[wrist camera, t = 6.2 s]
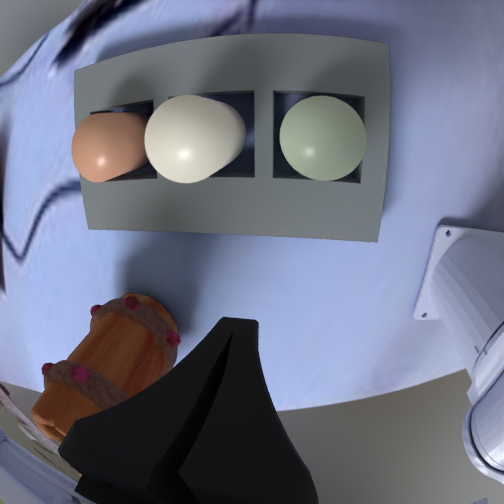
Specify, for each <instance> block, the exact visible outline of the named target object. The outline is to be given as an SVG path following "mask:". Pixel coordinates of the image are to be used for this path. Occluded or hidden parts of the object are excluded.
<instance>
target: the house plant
mask: <svg viewBox="0 0 504 504" xmlns="http://www.w3.org/2000/svg"><path fill="white" fill-rule="evenodd" d="M3 409H4V406H3V405H2V404H1V403H0V415H1V413H2V411H3Z"/></svg>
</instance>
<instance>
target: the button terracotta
mask: <svg viewBox="0 0 504 504" xmlns="http://www.w3.org/2000/svg"><path fill="white" fill-rule="evenodd" d="M149 119H150V117H148V116H147V115H145V114H143V113H139V112H119V113H98V114H93V115H90V116H88V117H86V118H85V119H84V120H83V121H82V122H81V123H80V124H79V125H78V127H77V129H76V131H75V133H74V136H73V140H72V157H73V161H74V164H75V166H76V168H77V170H78V172H79V173H80V174H81V175H82V176H83V177H84V178H86V179H87V180H89V181H92V182H104V181H107V180H109V179H112V178H114V177H117V176H119V175H122V174H124V173H127V172H130V171H132V170H135V169H138V168H141V167H143V166H145V165H146V164H148V163H149V162H150V160H149V158H148V156H147V153H146V149H145V131H146V127H147V124H148V121H149Z"/></svg>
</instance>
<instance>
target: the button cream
mask: <svg viewBox="0 0 504 504" xmlns="http://www.w3.org/2000/svg"><path fill="white" fill-rule="evenodd" d="M245 141H246V127H245V123H244V120H243V119H242V117H241V115H240V114H239V113H238V111H237V110H236V109H234V108H233V107H232V106H230V105H228V104H226V103H223V102H219V101H216V100H212V99H208V98H204V97H200V96H196V95H181V96H176V97H173V98H171V99H169V100H167V101H165V102H164V103H162V104H161V105H160V106H159V107H158V108H157V109H156V110H155V111H154V113H153V114H152V116H151V117H150V119H149V121H148V124H147V127H146V131H145V149H146V153H147V156H148V158H149V160H150V162H151V164H152V165H153V167H154V168H155V169H156V170H157V171H158V172H159V173H160V174H161V175H162V176H164V177H165V178H167V179H169V180H172V181H175V182H179V183H194V182H198V181H201V180H203V179H205V178H207V177H209V176H210V175H212V174H213V173H215V172H217V171H218V170H220V169H221V168H223V167H224V166H226V165H228V164H229V163H231V162H232V161H234V160H235V159H236V158H237V157H238V156H239V154H240V153H241V151H242V150H243V147H244V145H245Z"/></svg>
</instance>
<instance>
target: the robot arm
mask: <svg viewBox="0 0 504 504" xmlns="http://www.w3.org/2000/svg"><path fill="white" fill-rule="evenodd" d="M448 230H449V234H447V235H446V232H447V231H448ZM423 313H425V314H424V315H422V314H423ZM413 317H414V319H416V320H436V319H441V321H442V323H443V324H444V326H445V328H446V330H447V332H448V333H449V335H450V337H451V339H452V341H453V343H454V345H455V347H456V349H457V351H458V353H459V355H460V357H461V359H462V361H463V363H464V365H465V367H466V369H467V371H468V373H469V375H470V378H471V380H472V385H471V387H470V389H469V390H468V392H467V394H468V397H469V399H470V402H471V404H472V407H471V408H470V409H469V411H468V412H467V414H466V416H465V419H464V424H463V441H464V445H465V449H466V451H467V454H468V456H469V458H470V459H471V461H472V463H473V464H474V465H475V467H476V468H477V469H478V470H479V471H480V472H482V473H483V474H485V475H487V476H489V477H491V478H494V479H496V480H498V481H500V482H501V483H503V485H504V232H497V231H490V230H483V229H475V228H467V227H459V226H451V225H439V226H438V227H437V229H436V232H435V236H434V241H433V245H432V249H431V253H430V257H429V261H428V265H427V269H426V273H425V276H424V280H423V283H422V286H421V290H420V293H419V296H418V299H417V302H416V305H415V308H414V311H413ZM258 329H259V323H258V322H257V321H256V320H252V319H241V318H230V317H222V318H221V319H220V320H219V321H218V322H217V324H216V325H215V326H214V327H213V328H212V330H211V331H210V332H209V333H208V334H207V335H206V336H205V337H204V339H203V340H202V341H201V342H200V343H199V344H198V345H197V346H196V347H195V348H194V349H193V350H192V351H191V352H190V353H189V354H188V355H187V356H186V357H185V358H184V359H182V360H181V361H180V362H179V363H178V364H177V365H176V366H175V367H174V368H172V369H171V370H170V371H169V372H167V373H166V374H165V375H164V376H162V377H161V378H160V379H158V380H157V381H156V382H154V383H153V384H151V385H150V386H148V387H147V388H145V389H144V390H142V391H140V392H139V393H137V394H135V395H134V396H132V397H130V398H128V399H126V400H124V401H122V402H120V403H118V404H116V405H114V406H112V407H110V408H108V409H106V410H103V411H101V412H98V413H95V414H93V415H90V416H87V417H84V418H81V419H78V420H75V422H74V423H73V425H72V426H71V427H70V429H69V431H68V432H67V434H66V436H65V438H64V439H63V441H62V443H61V445H60V446H59V448H58V452H59V454H60V456H61V457H62V458H63V459H64V460H65V461H66V462H68V463H69V464H70V465H71V466H72V467H73V468H74V469H76V470H77V471H78V472H79V473H80V474H82V476H81V478H80V480H79V482H76V481H74V480H73V479H71V478H69V477H67V476H66V475H64V474H62V473H60V472H59V471H57V470H55V469H53V468H52V467H51V466H49V465H48V464H46V463H44V462H43V461H41V460H40V459H38V458H37V457H35V456H34V455H33V454H31V453H30V452H28V451H27V450H26V449H24V448H23V447H21V446H20V445H19V444H17V443H16V442H15V441H14V440H12V439H11V438H10V437H9V436H7V435H6V433H5V432H4V431H3V430H2V429H1V428H0V498H1V499H2V500H3V501H4V502H5V503H6V504H81V503H80V501H82V502H84V503H86V504H318V496H317V492H316V489H315V486H314V483H313V480H312V477H311V474H310V471H309V470H308V468H307V467H306V465H305V464H304V462H303V461H302V459H301V458H300V456H299V454H298V453H297V451H296V450H295V448H294V446H293V444H292V443H291V441H290V439H289V437H288V435H287V433H286V431H285V429H284V427H283V425H282V423H281V421H280V419H279V417H278V415H277V412H276V410H275V407H274V405H273V402H272V400H271V397H270V394H269V391H268V388H267V385H266V382H265V378H264V375H263V371H262V367H261V362H260V357H259V351H258ZM79 500H80V501H79ZM472 504H488V500H487V498H483V499H481V500H479V501H476V502H474V503H472Z"/></svg>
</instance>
